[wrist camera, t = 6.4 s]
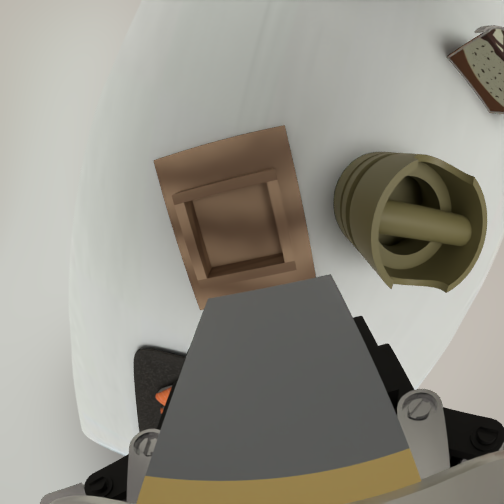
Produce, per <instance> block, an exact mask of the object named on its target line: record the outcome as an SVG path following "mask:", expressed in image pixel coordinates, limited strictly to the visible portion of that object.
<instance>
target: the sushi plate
mask: <svg viewBox="0 0 504 504" xmlns="http://www.w3.org/2000/svg"><path fill="white" fill-rule="evenodd" d="M185 358H186V357H184V356H180V355H176V354H172V353H168V352H164V351H159V350H155V349H148V348H143V349H139V350H138V351H137V352H136V354H135V357H134V382H135V395H136V405H137V415H138V423H139V431H140V432H141V431H144V430H147V429H157V426H158V424H159V421H160V418H161V415H162V412H163V410H164V407H165V404H166V401H167V399H168V396H169V393H170V390H171V388H172V385H173V383H174V381H176V380H178V377H179V374H180V372H181V369H182V366H183V363H184V361H185Z"/></svg>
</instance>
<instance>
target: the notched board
mask: <svg viewBox="0 0 504 504" xmlns="http://www.w3.org/2000/svg"><path fill="white" fill-rule="evenodd" d="M154 164H155V168H156V172H157V175H158V179H159V183H160V186H161V190H162V193H163V197H164V200H165V204H166V207H167V211H168V214H169V217H170V221H171V224H172V227H173V230H174V234H175V237H176V240H177V243H178V246H179V250H180V253H181V256H182V259H183V262H184V265H185V268H186V271H187V274H188V277H189V280H190V283H191V286H192V288H193V291H194V294H195V297H196V300H197V303H198V305H199V308H200V310H203V309H204V308H205V305H206V303H207V300H208V299H209V298H215V297H220V296H226V295H231V294H237V293H242V292H247V291H252V290H258V289H263V288H268V287H273V286H278V285H283V284H288V283H292V282H297V281H302V280H307V279H311V278H316V276H315V270H314V264H313V258H312V252H311V247H310V241H309V236H308V231H307V225H306V220H305V215H304V210H303V205H302V200H301V196H300V191H299V186H298V181H297V177H296V172H295V168H294V163H293V159H292V155H291V150H290V146H289V142H288V138H287V134H286V129H285V125H284V126H279V127H274V128H269V129H264V130H260V131H256V132H251V133H247V134H243V135H239V136H235V137H231V138H227V139H223V140H219V141H216V142H212V143H208V144H205V145H201V146H198V147H195V148H191V149H188V150H185V151H181V152H178V153H175V154H172V155H169V156H166V157H163V158H160V159H157V160H154Z"/></svg>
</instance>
